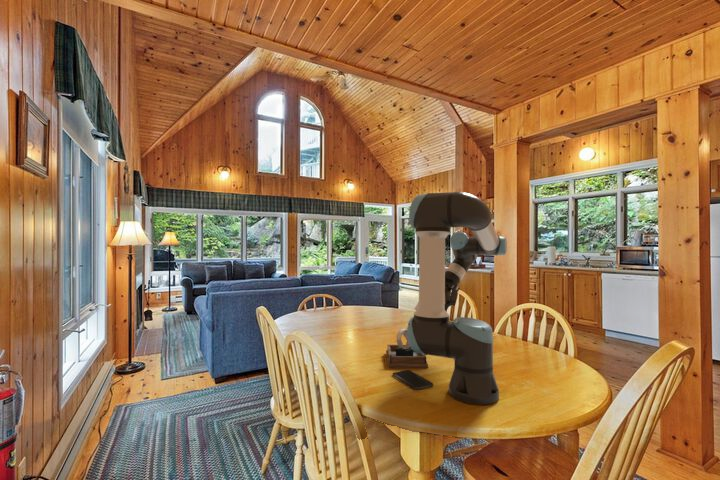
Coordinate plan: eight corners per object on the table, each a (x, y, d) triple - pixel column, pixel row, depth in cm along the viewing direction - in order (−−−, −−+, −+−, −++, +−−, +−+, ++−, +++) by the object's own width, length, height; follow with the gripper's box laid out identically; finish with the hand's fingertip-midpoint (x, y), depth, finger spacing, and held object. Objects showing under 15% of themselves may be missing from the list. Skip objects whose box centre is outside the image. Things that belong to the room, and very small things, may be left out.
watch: (416, 355, 147) (416, 328, 147) (403, 360, 141) (403, 332, 141) (405, 352, 151) (405, 326, 150) (392, 356, 145) (392, 329, 145)
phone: (415, 388, 117) (391, 373, 130) (415, 392, 117) (391, 376, 130) (434, 384, 120) (409, 369, 134) (434, 387, 120) (409, 372, 134)
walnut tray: (427, 368, 137) (427, 357, 137) (388, 367, 137) (388, 357, 137) (421, 353, 154) (421, 344, 154) (386, 353, 154) (386, 344, 154)
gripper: (479, 284, 148) (452, 325, 141) (438, 278, 170) (413, 313, 163) (470, 272, 146) (441, 313, 138) (429, 268, 167) (403, 303, 160)
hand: (426, 313), depth 151 cm, fingers open, 13 cm apart
